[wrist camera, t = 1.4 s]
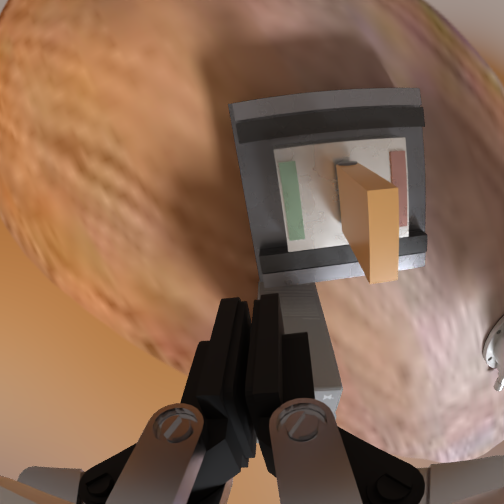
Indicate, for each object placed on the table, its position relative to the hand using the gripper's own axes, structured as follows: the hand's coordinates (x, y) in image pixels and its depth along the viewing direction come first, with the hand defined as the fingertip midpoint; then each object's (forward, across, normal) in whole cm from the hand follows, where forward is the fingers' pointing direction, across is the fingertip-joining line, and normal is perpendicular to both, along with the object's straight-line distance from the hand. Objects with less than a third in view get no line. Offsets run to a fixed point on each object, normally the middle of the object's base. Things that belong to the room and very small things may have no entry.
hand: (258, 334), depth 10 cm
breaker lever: (+15, -6, 0) cm, 16 cm away
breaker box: (+23, -6, 0) cm, 24 cm away
